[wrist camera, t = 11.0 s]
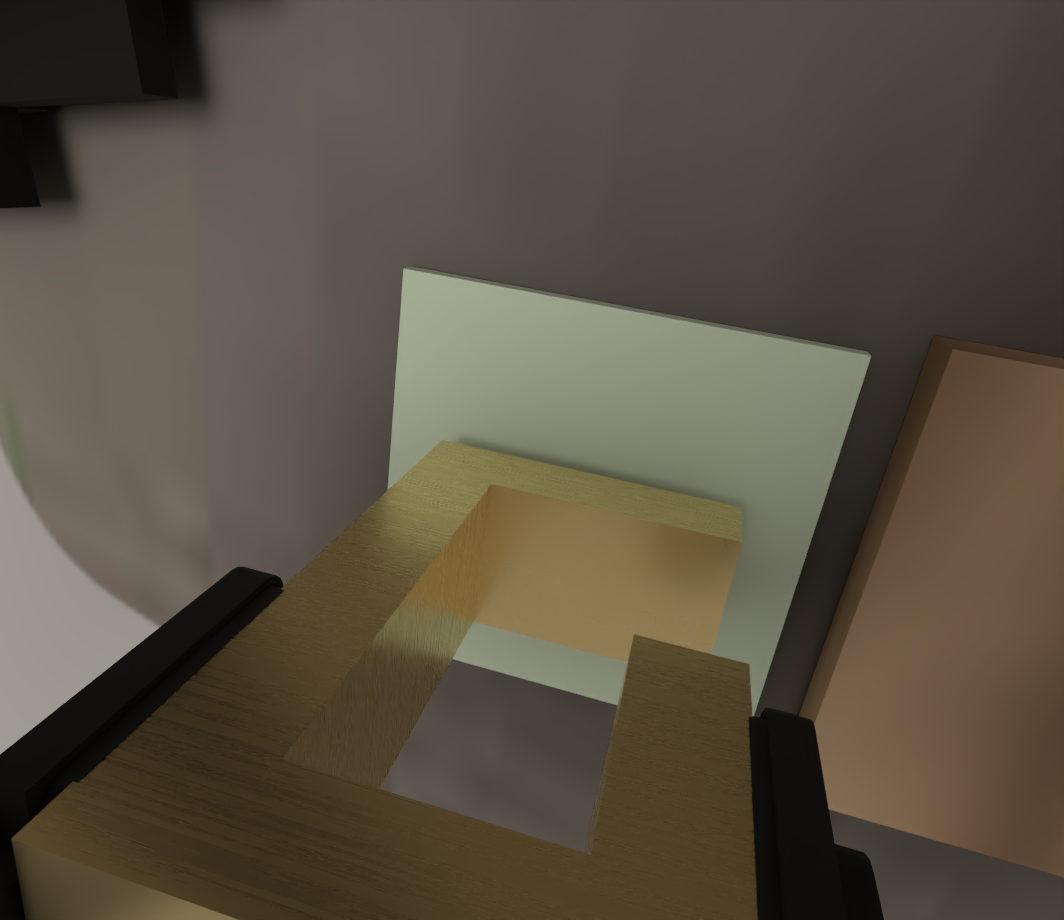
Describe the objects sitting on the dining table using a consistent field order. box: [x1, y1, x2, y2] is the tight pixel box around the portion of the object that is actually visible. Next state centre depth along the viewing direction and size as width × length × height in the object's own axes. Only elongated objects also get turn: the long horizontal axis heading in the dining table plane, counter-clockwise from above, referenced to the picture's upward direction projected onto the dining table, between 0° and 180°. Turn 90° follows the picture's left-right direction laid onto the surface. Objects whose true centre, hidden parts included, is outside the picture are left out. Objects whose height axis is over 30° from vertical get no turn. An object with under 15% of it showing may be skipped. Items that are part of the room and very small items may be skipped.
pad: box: [388, 266, 871, 716], centre depth 16 cm, size 9×9×1 cm
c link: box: [11, 440, 758, 920], centre depth 11 cm, size 6×3×10 cm, turn 82°
